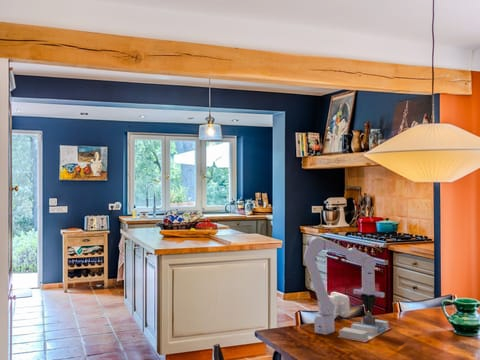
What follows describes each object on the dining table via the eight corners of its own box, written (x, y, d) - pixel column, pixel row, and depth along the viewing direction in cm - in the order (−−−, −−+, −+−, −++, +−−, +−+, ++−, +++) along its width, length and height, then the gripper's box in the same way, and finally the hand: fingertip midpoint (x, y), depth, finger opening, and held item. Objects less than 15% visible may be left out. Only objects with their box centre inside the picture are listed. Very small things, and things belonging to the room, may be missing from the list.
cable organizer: (317, 314, 255) (317, 292, 255) (334, 312, 259) (333, 290, 259) (333, 321, 241) (332, 297, 242) (351, 318, 245) (350, 295, 246)
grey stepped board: (365, 344, 203) (364, 334, 203) (337, 338, 212) (337, 328, 212) (390, 330, 223) (390, 321, 223) (364, 325, 232) (364, 316, 232)
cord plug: (371, 331, 218) (371, 313, 218) (363, 330, 221) (362, 312, 221) (375, 329, 221) (374, 312, 222) (367, 328, 224) (366, 310, 224)
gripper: (387, 281, 220) (387, 311, 220) (357, 278, 230) (358, 307, 229) (380, 284, 215) (381, 314, 215) (350, 280, 224) (351, 310, 224)
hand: (369, 311), depth 222 cm, fingers closed
